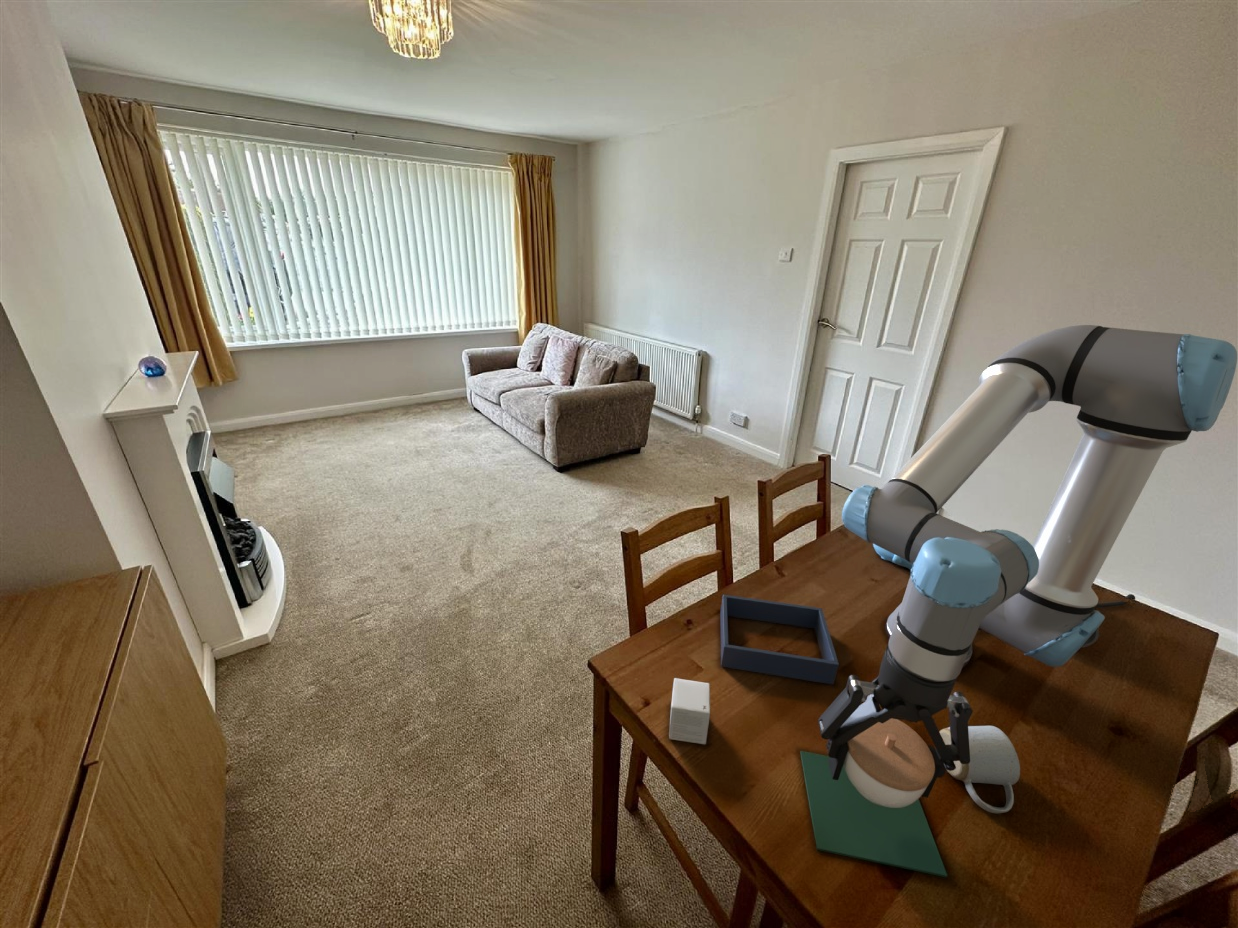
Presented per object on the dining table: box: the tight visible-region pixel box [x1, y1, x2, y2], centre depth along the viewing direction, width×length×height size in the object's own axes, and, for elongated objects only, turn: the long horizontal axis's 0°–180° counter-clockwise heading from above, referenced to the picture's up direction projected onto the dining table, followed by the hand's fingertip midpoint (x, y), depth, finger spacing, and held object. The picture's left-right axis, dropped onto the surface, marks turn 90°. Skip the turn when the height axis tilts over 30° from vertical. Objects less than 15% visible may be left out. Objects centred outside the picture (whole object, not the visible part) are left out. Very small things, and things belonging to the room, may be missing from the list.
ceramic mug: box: [939, 725, 1021, 814], centre depth 72 cm, size 11×8×8 cm
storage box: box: [719, 594, 840, 685], centre depth 97 cm, size 21×16×5 cm
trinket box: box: [843, 718, 935, 808], centre depth 65 cm, size 11×11×9 cm
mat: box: [799, 750, 948, 878], centre depth 69 cm, size 16×14×1 cm
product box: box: [668, 677, 711, 745], centre depth 79 cm, size 6×6×7 cm
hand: (876, 778), depth 67 cm, fingers closed on trinket box, 11 cm apart
